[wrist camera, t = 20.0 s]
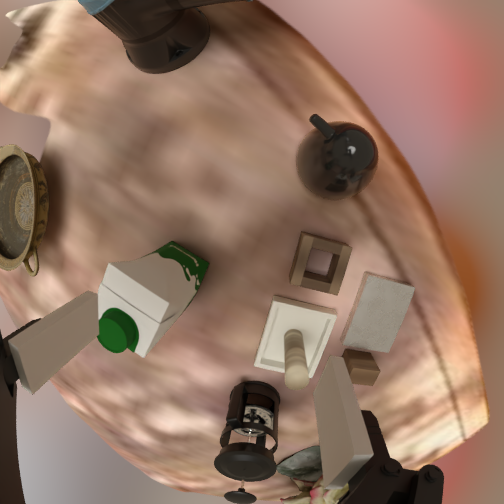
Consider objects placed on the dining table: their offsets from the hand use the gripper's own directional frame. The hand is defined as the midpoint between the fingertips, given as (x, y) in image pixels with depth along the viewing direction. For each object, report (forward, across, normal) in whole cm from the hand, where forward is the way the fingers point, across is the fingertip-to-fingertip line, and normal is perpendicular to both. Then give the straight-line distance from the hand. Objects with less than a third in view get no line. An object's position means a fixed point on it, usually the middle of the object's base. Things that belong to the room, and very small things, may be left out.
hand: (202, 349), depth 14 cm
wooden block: (+28, -22, +15) cm, 38 cm away
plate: (+28, -22, +6) cm, 37 cm away
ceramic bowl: (+29, +47, +2) cm, 55 cm away
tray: (+28, -10, +13) cm, 32 cm away
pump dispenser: (+29, -8, -14) cm, 33 cm away
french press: (+28, -7, +28) cm, 40 cm away
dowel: (+27, -10, +13) cm, 32 cm away
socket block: (+28, -10, 0) cm, 30 cm away
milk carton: (+28, +10, +6) cm, 31 cm away
